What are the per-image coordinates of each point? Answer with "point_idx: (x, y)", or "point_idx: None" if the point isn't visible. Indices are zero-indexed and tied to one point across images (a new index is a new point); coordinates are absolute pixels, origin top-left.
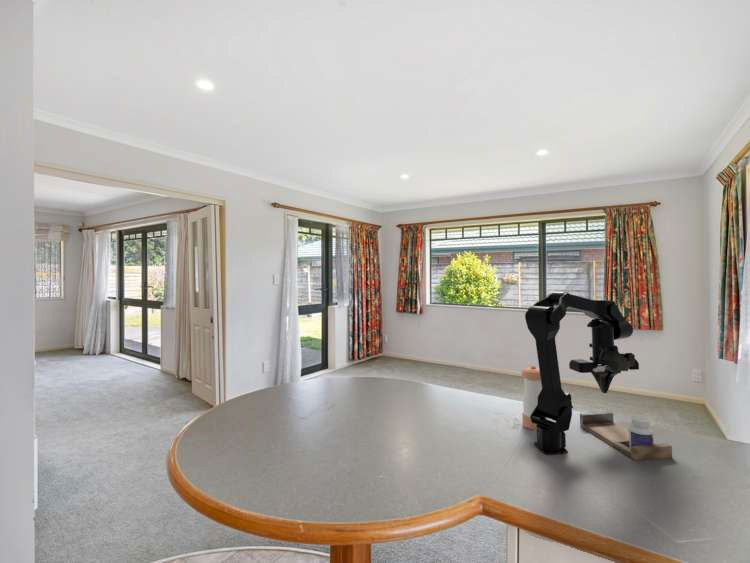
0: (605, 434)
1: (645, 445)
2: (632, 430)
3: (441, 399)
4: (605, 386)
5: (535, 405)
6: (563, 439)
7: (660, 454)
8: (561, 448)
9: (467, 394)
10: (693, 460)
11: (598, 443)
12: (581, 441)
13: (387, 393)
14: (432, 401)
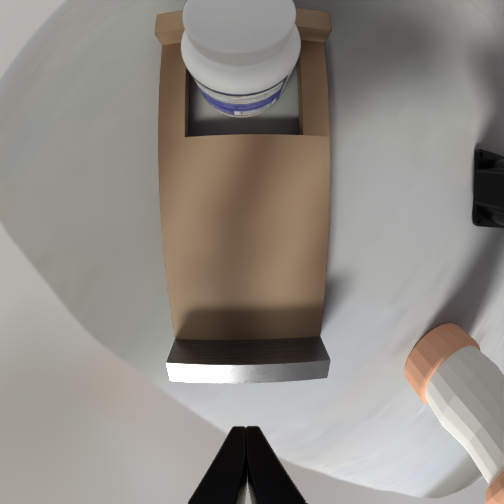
0: (306, 219)
1: None
2: (299, 38)
3: (460, 454)
4: (258, 475)
5: (497, 369)
6: (501, 169)
7: None
8: (488, 164)
9: (405, 485)
10: (117, 29)
11: (355, 186)
12: (400, 217)
13: None
14: None
